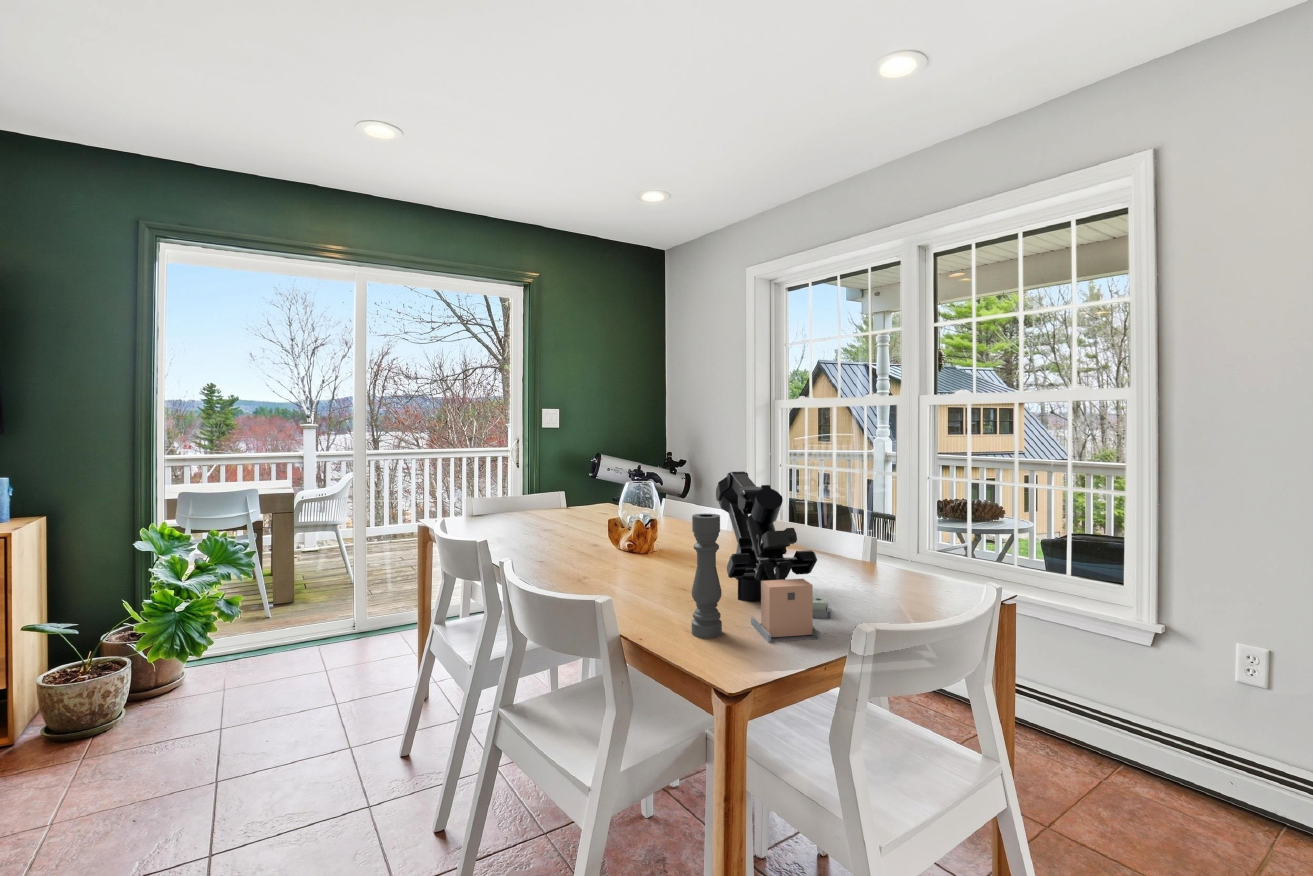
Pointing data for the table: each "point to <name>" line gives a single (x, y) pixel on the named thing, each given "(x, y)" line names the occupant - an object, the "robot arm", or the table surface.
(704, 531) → the candle holder
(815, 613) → the button bezel
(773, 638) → the grey tray
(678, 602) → the table surface
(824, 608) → the sage button
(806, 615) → the salmon pink box
